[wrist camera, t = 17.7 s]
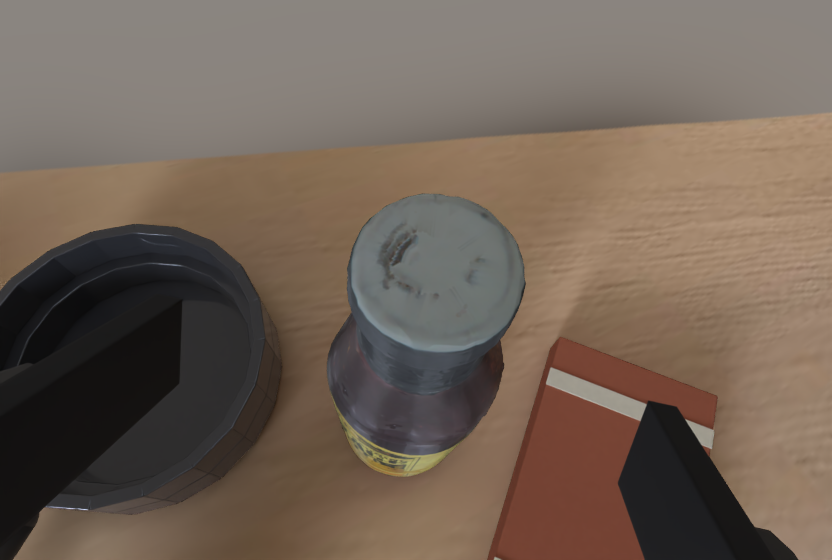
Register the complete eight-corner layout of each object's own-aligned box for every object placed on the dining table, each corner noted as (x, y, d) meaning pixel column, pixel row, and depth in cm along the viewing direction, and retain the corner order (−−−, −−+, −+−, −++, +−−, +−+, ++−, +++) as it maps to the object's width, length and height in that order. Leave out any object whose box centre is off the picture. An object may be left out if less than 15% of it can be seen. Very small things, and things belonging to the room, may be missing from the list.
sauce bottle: (325, 403, 30) (231, 202, 12) (419, 347, 32) (455, 100, 14) (385, 510, 28) (376, 455, 10) (482, 444, 29) (624, 296, 12)
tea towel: (699, 404, 31) (719, 395, 29) (652, 704, 25) (673, 718, 23) (550, 347, 32) (560, 335, 30) (468, 620, 26) (474, 626, 24)
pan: (324, 315, 32) (313, 279, 28) (196, 561, 26) (157, 565, 22) (123, 236, 34) (83, 190, 30) (-38, 448, 28) (-119, 431, 24)
